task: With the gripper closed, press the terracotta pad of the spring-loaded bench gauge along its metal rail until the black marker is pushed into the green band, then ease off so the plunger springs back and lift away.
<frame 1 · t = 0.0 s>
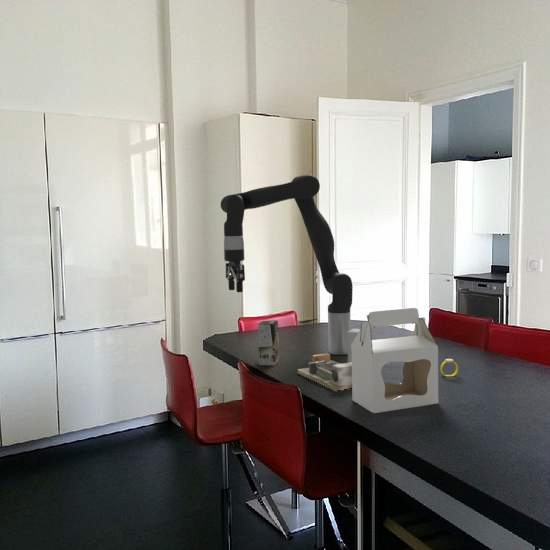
hand: (235, 291, 217), 29 cm above the table, tool pointing down, fingers open, 8 cm apart
gable box: (394, 402, 173), on the table
gauge marker: (312, 368, 200), point 4 cm above the table, slide at 0.0 cm
gauge frame: (333, 378, 199), on the table
gauge plunger: (319, 363, 204), point 4 cm above the table, slide at 0.0 cm
supplement box: (359, 363, 221), on the table
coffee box: (269, 363, 225), on the table
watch: (449, 376, 199), on the table
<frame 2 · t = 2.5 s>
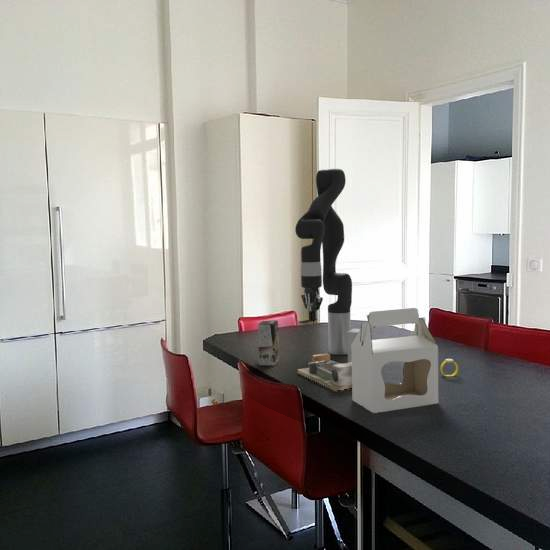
hand: (312, 321, 211), 18 cm above the table, tool pointing down, fingers closed
nothing on the table moved.
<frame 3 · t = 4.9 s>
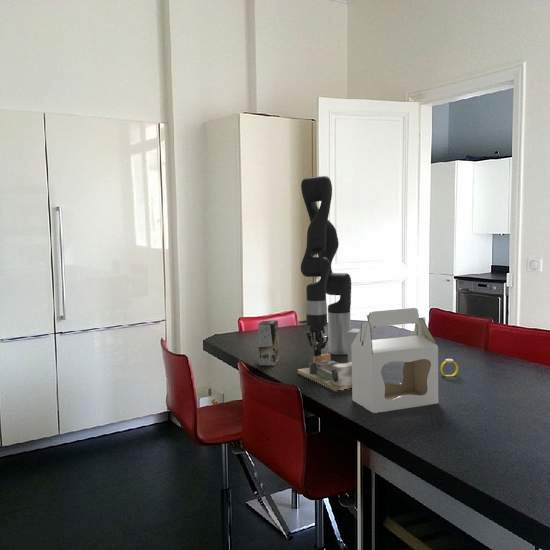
hand: (317, 359, 209), 5 cm above the table, tool pointing down, fingers closed
gauge marker: (312, 368, 200), point 4 cm above the table, slide at 0.2 cm, touching gauge plunger
gauge plunger: (320, 363, 204), point 4 cm above the table, slide at 0.4 cm, touching gauge marker, gripper
everything else where it was.
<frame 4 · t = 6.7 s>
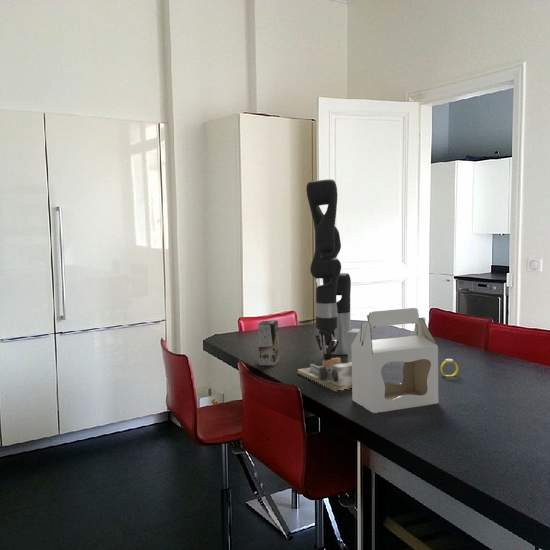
hand: (327, 363, 203), 5 cm above the table, tool pointing down, fingers closed
gauge marker: (322, 372, 193), point 4 cm above the table, slide at 7.3 cm, touching gauge plunger
gauge plunger: (329, 367, 198), point 4 cm above the table, slide at 7.5 cm, touching gauge marker, gripper
everything else where it was.
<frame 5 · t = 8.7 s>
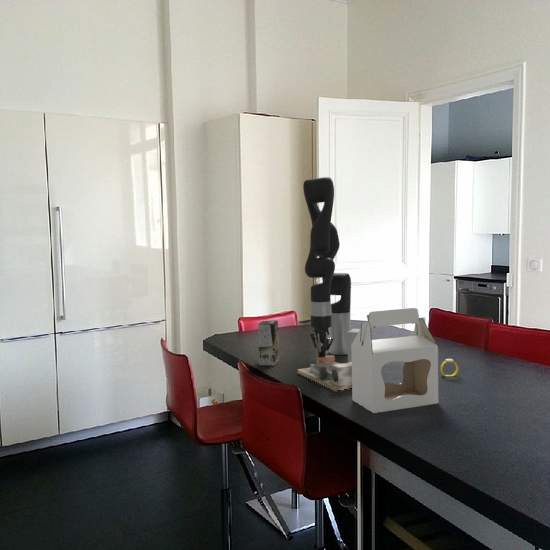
hand: (321, 361, 207), 4 cm above the table, tool pointing down, fingers closed
gauge marker: (322, 372, 193), point 4 cm above the table, slide at 7.3 cm
gauge plunger: (323, 365, 201), point 4 cm above the table, slide at 3.3 cm, touching gripper
everything else where it was.
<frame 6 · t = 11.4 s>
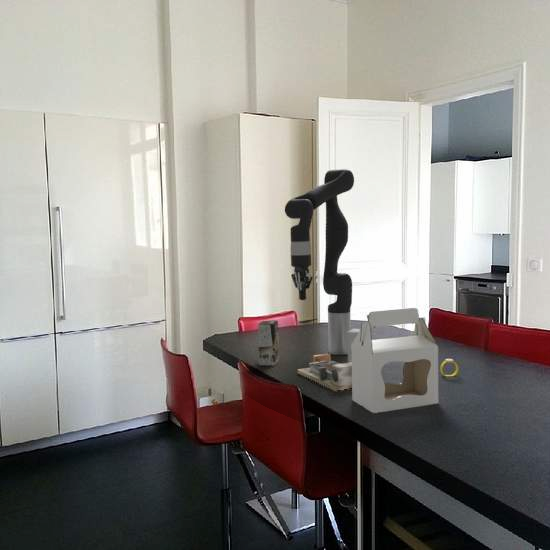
hand: (302, 299, 215), 26 cm above the table, tool pointing down, fingers closed
gauge plunger: (319, 363, 204), point 4 cm above the table, slide at 0.4 cm
everything else where it was.
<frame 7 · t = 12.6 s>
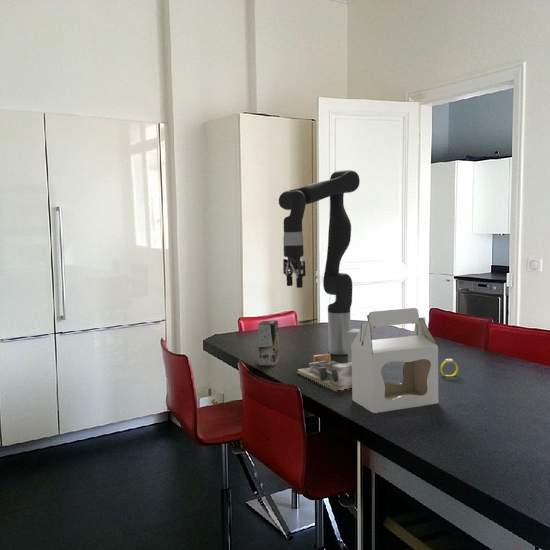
hand: (294, 286, 219), 30 cm above the table, tool pointing down, fingers open, 8 cm apart
nothing on the table moved.
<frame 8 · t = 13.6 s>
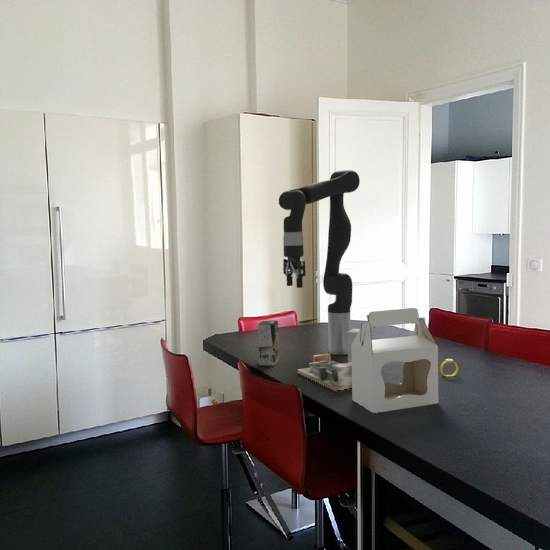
hand: (294, 286, 219), 30 cm above the table, tool pointing down, fingers open, 8 cm apart
nothing on the table moved.
at the end: gauge marker slide at 7.3 cm; gauge plunger slide at 0.4 cm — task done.
